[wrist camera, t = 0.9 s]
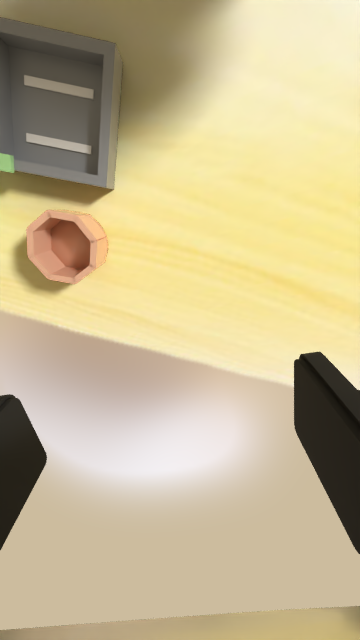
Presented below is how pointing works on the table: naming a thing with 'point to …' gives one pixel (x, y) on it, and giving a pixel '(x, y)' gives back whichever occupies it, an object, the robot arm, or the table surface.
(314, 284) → the table surface
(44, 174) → the tray
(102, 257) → the cup
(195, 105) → the table surface
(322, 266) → the table surface
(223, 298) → the table surface
